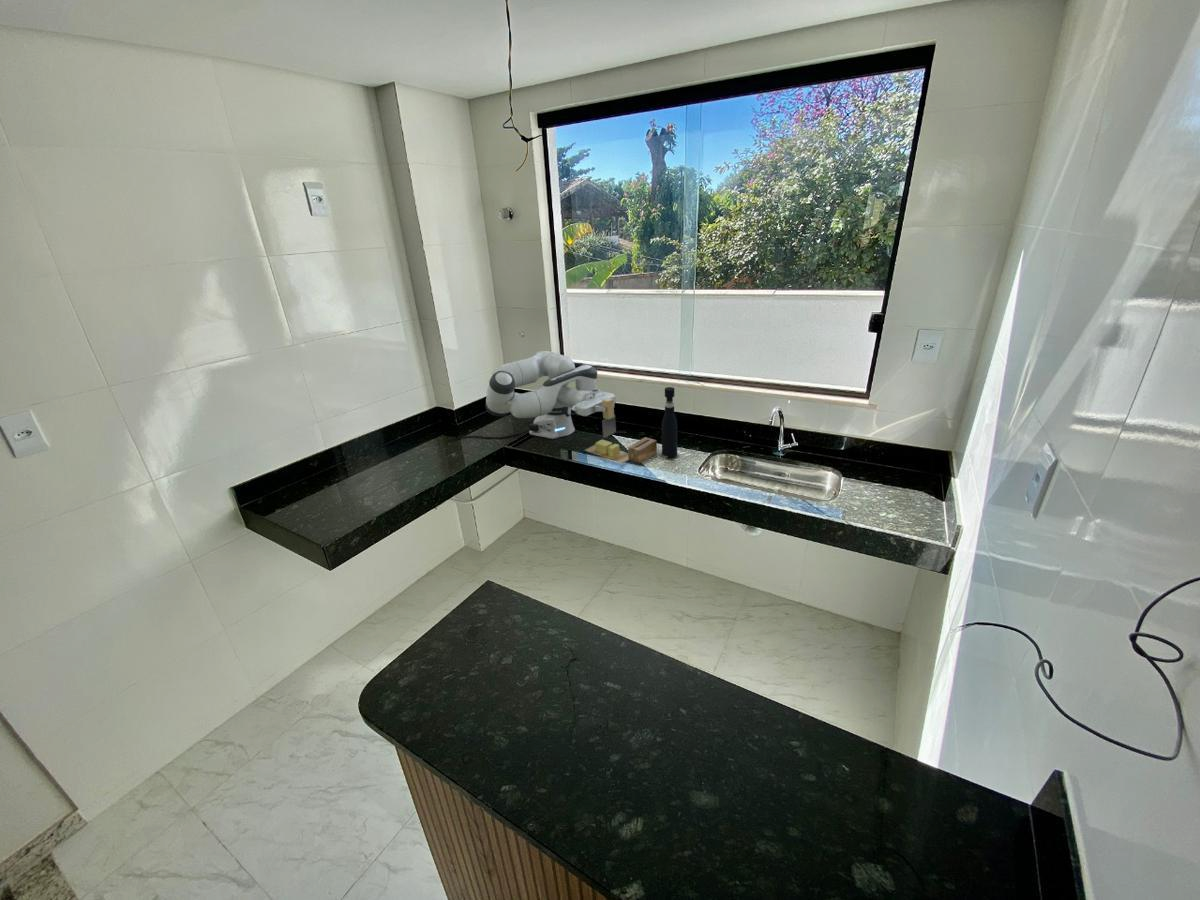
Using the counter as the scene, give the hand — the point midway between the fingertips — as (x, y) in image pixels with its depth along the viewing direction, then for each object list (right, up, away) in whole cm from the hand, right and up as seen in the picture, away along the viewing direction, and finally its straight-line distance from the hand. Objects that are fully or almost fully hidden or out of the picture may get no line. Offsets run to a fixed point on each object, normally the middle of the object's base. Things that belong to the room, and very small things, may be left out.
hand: (609, 407), depth 200 cm
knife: (0, -11, +6) cm, 13 cm away
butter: (-2, -18, +12) cm, 22 cm away
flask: (-35, -4, +50) cm, 61 cm away
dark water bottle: (+26, -20, +7) cm, 33 cm away
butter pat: (+2, -19, +9) cm, 21 cm away
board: (0, -20, +11) cm, 22 cm away
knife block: (+14, -21, +6) cm, 26 cm away
